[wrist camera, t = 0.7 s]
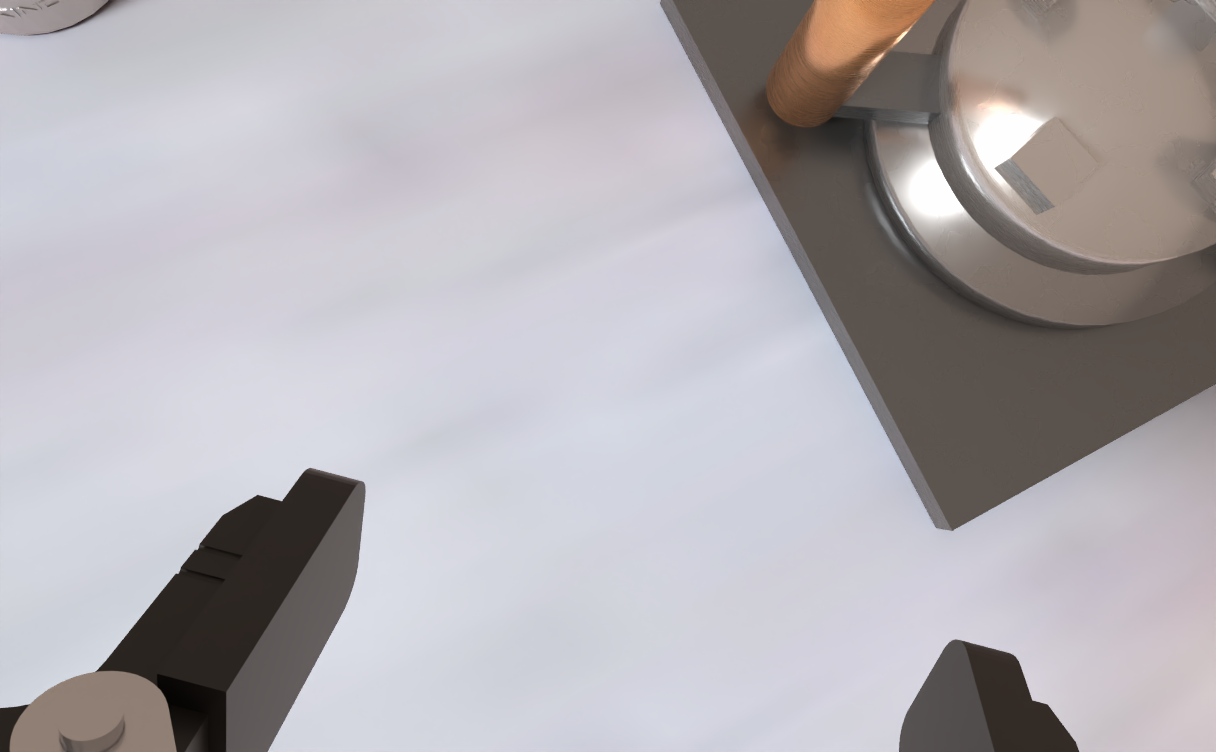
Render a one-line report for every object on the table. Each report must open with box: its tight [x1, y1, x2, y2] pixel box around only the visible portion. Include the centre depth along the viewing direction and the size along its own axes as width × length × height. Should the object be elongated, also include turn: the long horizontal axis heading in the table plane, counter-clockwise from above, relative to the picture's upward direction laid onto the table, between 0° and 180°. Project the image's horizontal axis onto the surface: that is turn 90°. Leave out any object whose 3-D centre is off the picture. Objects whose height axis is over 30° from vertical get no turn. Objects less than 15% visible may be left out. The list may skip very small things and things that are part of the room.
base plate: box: [660, 0, 1216, 531], centre depth 40 cm, size 26×26×3 cm
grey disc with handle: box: [766, 0, 1216, 275], centre depth 32 cm, size 21×14×12 cm
